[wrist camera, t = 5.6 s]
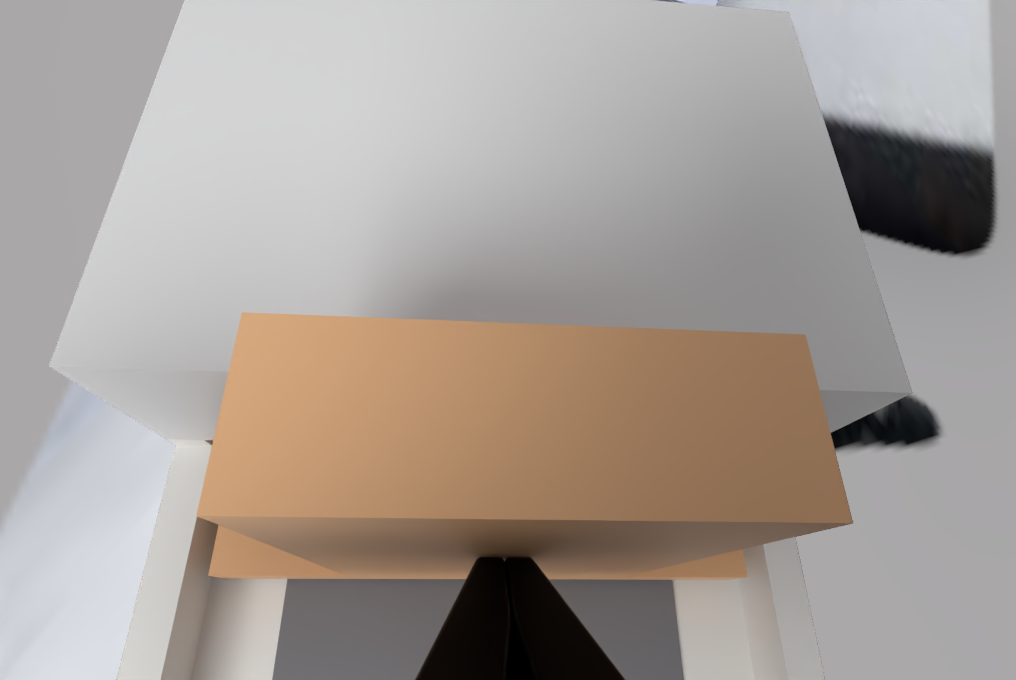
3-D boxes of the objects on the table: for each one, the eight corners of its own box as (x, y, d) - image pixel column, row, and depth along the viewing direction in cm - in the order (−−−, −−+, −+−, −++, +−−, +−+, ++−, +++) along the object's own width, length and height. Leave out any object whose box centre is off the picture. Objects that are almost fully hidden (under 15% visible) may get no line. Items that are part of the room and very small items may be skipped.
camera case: (768, 922, 14) (1228, 1362, 6) (149, 952, 13) (-396, 1561, 4) (660, 190, 23) (772, -39, 15) (303, 169, 22) (218, -90, 14)
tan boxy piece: (727, 579, 14) (1120, 526, 6) (225, 578, 13) (-157, 512, 5) (683, 290, 17) (887, 3, 9) (284, 272, 16) (121, -67, 8)
